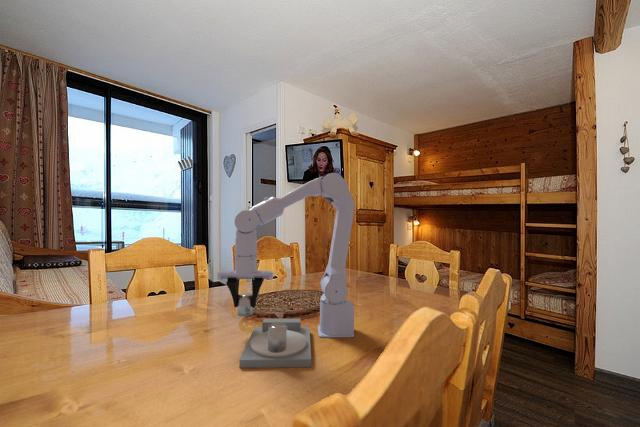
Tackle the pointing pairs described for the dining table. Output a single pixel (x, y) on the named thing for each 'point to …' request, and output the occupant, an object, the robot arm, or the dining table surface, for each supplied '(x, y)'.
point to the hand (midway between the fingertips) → (245, 306)
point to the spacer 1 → (244, 305)
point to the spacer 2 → (277, 337)
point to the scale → (291, 357)
